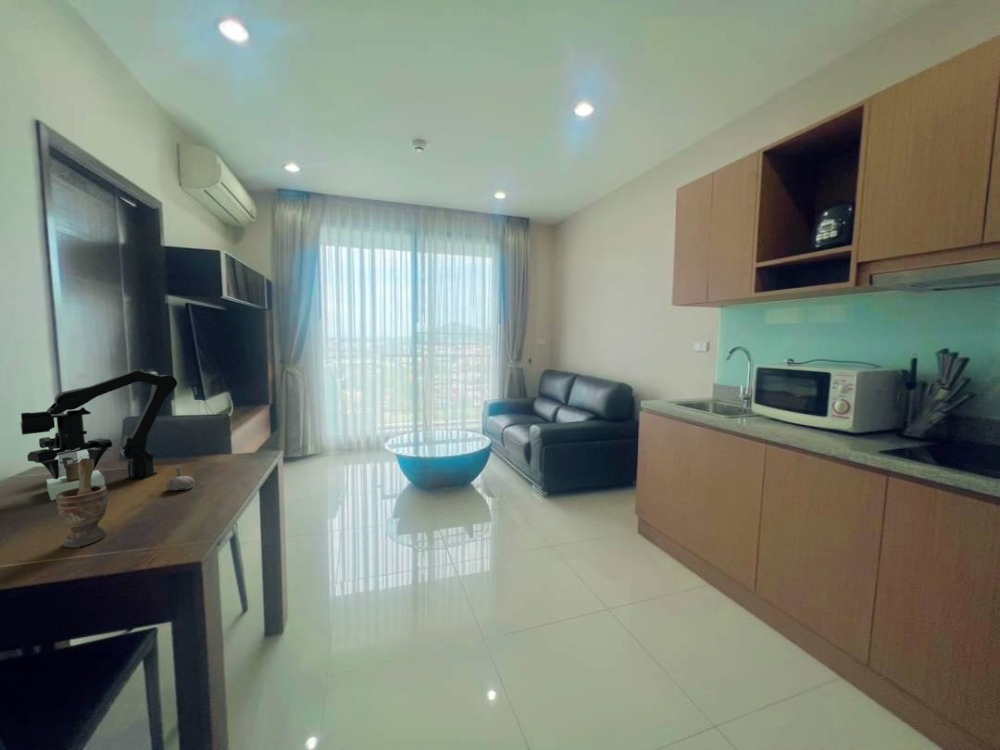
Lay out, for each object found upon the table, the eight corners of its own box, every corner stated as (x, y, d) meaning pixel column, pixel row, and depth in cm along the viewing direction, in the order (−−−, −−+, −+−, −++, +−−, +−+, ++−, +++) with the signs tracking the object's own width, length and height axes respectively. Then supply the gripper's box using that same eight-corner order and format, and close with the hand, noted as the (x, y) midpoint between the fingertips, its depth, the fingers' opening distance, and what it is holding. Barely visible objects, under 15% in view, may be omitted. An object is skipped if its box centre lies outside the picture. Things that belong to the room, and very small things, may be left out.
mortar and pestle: (54, 539, 97) (46, 463, 95) (102, 525, 104) (96, 455, 102) (64, 553, 91) (57, 472, 89) (114, 537, 98) (108, 462, 96)
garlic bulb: (161, 491, 128) (160, 468, 127) (185, 484, 135) (184, 462, 134) (176, 494, 125) (175, 471, 125) (200, 486, 132) (198, 464, 132)
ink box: (72, 473, 143) (69, 443, 142) (90, 471, 146) (88, 441, 145) (60, 481, 136) (57, 449, 135) (79, 479, 138) (76, 447, 137)
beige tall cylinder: (88, 487, 130) (86, 462, 129) (76, 492, 126) (73, 466, 125) (77, 487, 130) (74, 462, 129) (64, 492, 126) (61, 466, 125)
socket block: (99, 480, 136) (98, 470, 136) (105, 488, 129) (104, 477, 129) (47, 491, 127) (46, 479, 126) (50, 500, 120) (49, 488, 119)
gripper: (89, 421, 137) (93, 463, 138) (13, 433, 119) (18, 481, 120) (111, 423, 135) (115, 466, 136) (37, 436, 116) (42, 485, 118)
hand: (74, 474), depth 128 cm, fingers open, 9 cm apart
